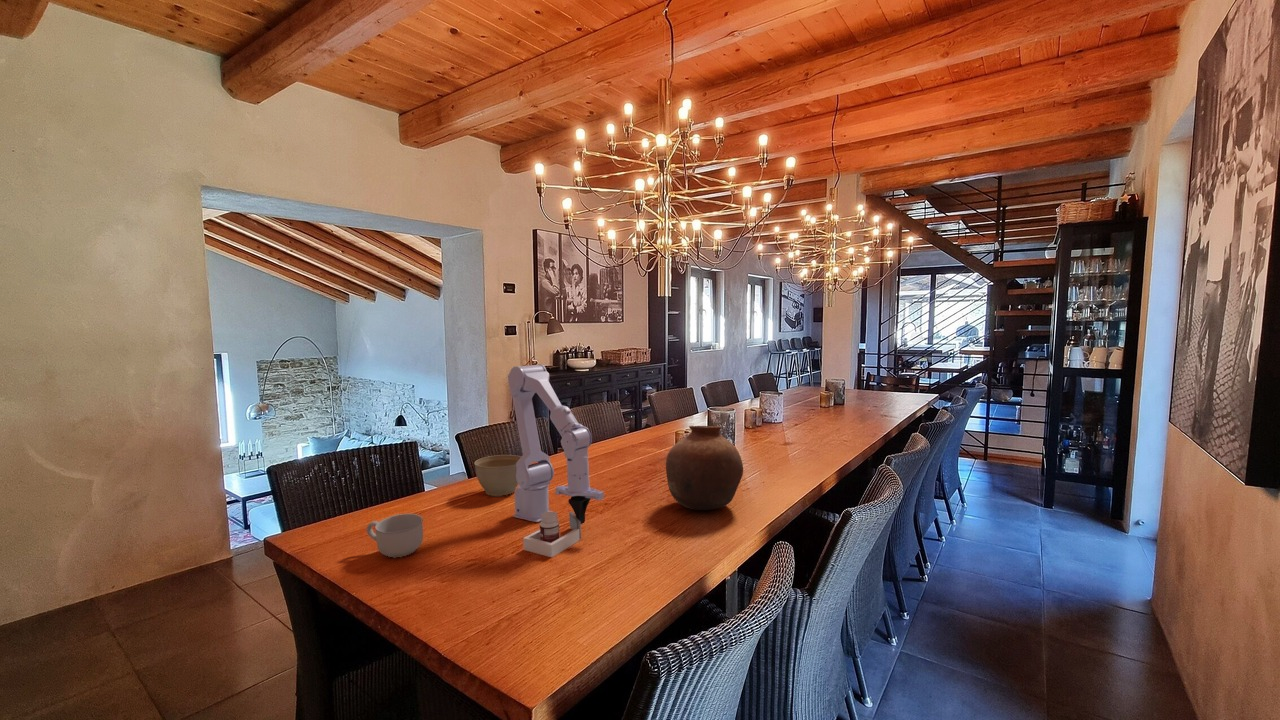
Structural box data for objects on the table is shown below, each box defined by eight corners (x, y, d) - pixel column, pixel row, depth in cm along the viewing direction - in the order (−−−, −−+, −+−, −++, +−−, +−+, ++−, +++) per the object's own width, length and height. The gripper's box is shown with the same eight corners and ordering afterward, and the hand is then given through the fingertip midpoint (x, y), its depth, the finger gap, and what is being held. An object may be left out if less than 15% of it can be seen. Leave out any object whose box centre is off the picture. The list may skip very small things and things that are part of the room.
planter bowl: (519, 500, 168) (518, 466, 167) (468, 501, 168) (467, 467, 167) (530, 484, 184) (529, 454, 183) (484, 485, 184) (483, 454, 183)
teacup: (433, 546, 134) (432, 515, 133) (401, 565, 124) (399, 532, 123) (390, 539, 138) (388, 510, 138) (355, 557, 128) (354, 525, 128)
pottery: (689, 526, 144) (688, 436, 143) (653, 500, 165) (652, 422, 164) (758, 513, 153) (758, 428, 152) (716, 490, 175) (715, 415, 173)
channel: (523, 549, 131) (523, 538, 131) (552, 534, 140) (551, 523, 140) (551, 557, 126) (551, 545, 126) (579, 540, 136) (579, 529, 136)
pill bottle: (541, 543, 135) (540, 511, 134) (559, 542, 135) (559, 510, 135) (540, 551, 130) (539, 518, 129) (559, 550, 131) (558, 517, 130)
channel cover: (581, 538, 137) (580, 522, 136) (578, 539, 136) (577, 522, 136) (572, 526, 145) (572, 511, 144) (569, 527, 144) (569, 511, 144)
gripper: (547, 474, 141) (549, 524, 141) (591, 479, 133) (594, 532, 134) (563, 468, 147) (566, 515, 148) (607, 472, 140) (609, 523, 140)
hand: (580, 523), depth 141 cm, fingers closed, pressing on channel cover
